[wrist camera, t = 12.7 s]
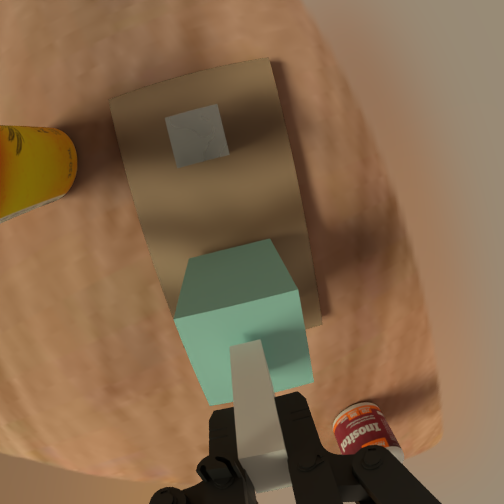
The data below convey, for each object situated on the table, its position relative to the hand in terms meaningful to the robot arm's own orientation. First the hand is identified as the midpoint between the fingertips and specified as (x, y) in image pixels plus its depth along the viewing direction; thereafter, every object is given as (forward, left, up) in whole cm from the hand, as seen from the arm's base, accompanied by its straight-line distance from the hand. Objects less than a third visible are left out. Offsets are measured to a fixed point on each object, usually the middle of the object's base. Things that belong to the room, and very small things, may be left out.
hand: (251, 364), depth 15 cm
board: (-5, 0, -12) cm, 13 cm away
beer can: (-13, -13, -12) cm, 22 cm away
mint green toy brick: (0, 0, -10) cm, 10 cm away
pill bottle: (+22, +9, -12) cm, 27 cm away
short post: (-11, 0, -11) cm, 15 cm away
